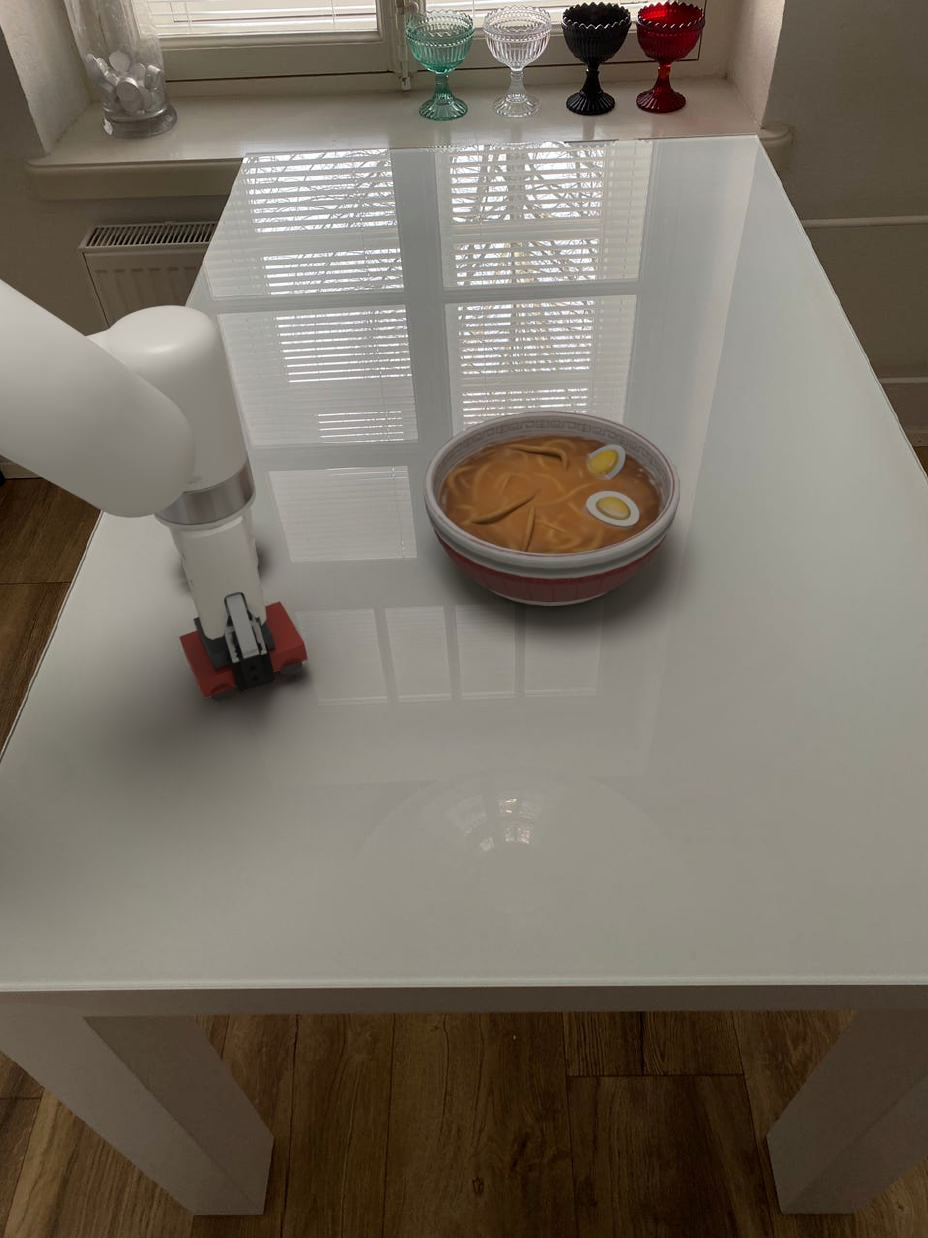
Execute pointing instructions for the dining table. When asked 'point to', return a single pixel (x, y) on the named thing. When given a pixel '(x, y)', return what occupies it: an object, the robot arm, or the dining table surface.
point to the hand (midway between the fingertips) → (246, 655)
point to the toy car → (212, 654)
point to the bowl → (551, 504)
